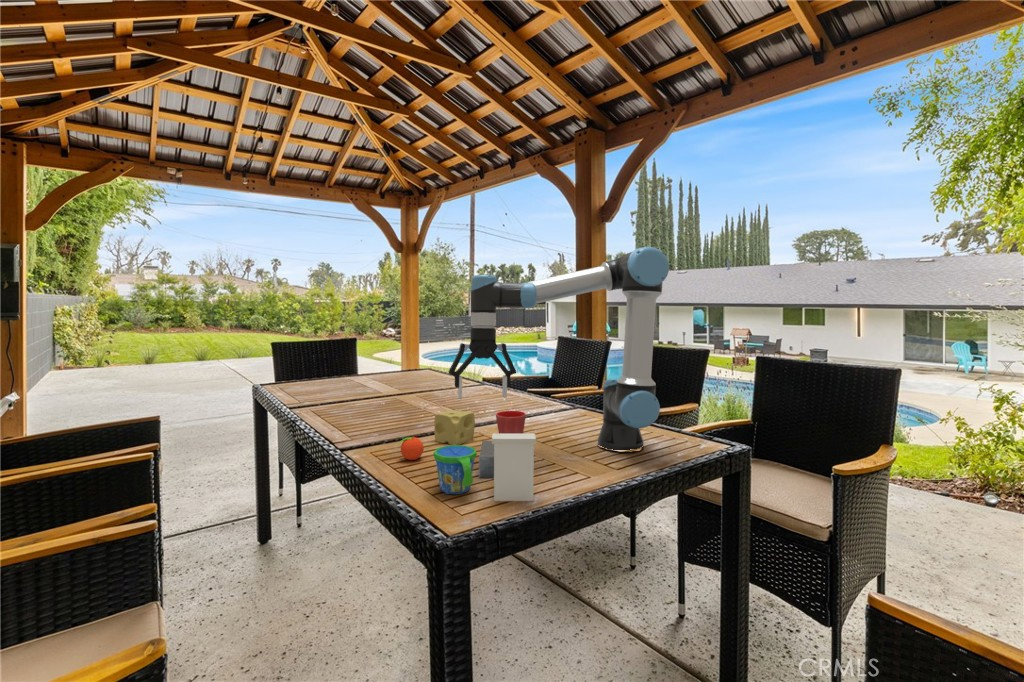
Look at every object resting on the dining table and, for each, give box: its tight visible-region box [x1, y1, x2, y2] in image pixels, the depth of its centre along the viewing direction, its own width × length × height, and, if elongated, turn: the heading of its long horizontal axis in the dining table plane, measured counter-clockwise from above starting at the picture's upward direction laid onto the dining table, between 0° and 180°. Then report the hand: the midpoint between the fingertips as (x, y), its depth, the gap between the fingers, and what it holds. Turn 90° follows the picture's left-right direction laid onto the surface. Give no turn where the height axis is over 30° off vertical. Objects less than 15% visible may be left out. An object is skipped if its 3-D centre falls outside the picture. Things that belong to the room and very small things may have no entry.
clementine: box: [398, 436, 425, 461], centre depth 143 cm, size 8×7×7 cm
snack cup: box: [433, 444, 478, 495], centre depth 118 cm, size 16×10×10 cm
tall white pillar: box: [491, 433, 537, 502], centre depth 117 cm, size 10×12×15 cm
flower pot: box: [495, 410, 527, 434], centre depth 165 cm, size 11×11×10 cm
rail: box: [478, 440, 494, 479], centre depth 135 cm, size 4×16×6 cm, turn 1°
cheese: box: [434, 409, 476, 446], centre depth 165 cm, size 10×11×10 cm
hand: (482, 397), depth 141 cm, fingers open, 13 cm apart
